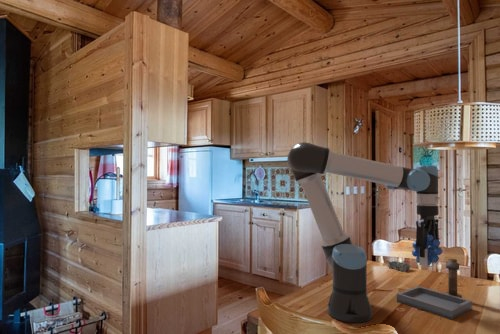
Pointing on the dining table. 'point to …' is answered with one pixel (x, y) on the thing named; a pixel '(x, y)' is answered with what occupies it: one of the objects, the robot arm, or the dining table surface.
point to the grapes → (429, 250)
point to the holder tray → (435, 302)
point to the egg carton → (399, 266)
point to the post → (452, 277)
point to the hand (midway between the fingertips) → (427, 264)
